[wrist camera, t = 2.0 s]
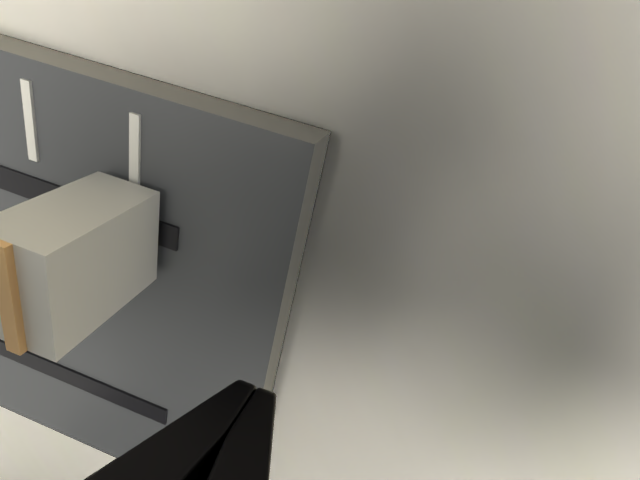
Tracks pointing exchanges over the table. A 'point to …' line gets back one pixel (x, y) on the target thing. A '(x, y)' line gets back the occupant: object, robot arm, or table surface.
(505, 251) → the table surface
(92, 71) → the console
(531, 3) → the table surface
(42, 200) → the fader
